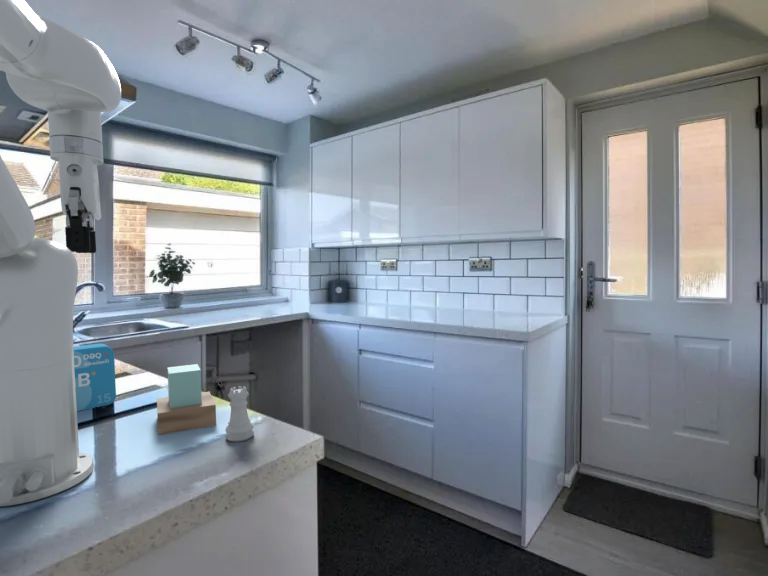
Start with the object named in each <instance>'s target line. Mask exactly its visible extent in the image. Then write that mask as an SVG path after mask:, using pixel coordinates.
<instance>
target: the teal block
mask: <svg viewBox="0 0 768 576" xmlns="http://www.w3.org/2000/svg"><path fill="white" fill-rule="evenodd" d="M201 373H202V370H201V368H200V366H199V364H198V363H195V364H194V363H193V364H186V365H177V366H169V367H167V389H168V397H169V404H170V408H176V407H183V406H190V405H196V404H202V395H201V393H202V375H201Z"/></svg>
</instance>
